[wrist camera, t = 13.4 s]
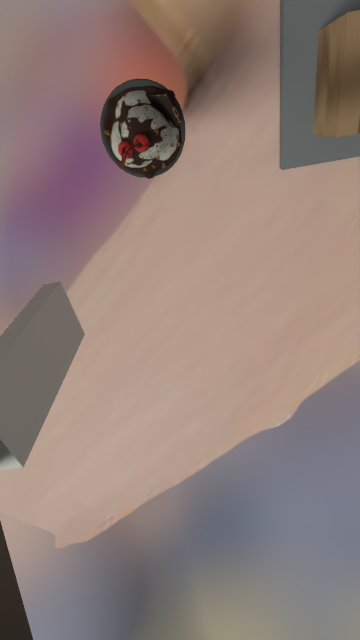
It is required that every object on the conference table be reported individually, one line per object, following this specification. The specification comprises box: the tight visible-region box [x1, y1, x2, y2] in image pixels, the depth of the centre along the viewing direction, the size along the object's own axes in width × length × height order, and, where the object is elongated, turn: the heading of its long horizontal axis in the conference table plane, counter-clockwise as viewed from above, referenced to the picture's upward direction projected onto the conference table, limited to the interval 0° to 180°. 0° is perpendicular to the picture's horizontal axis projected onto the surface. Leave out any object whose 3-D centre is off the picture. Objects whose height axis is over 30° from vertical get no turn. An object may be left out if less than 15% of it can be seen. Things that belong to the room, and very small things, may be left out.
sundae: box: [100, 79, 185, 179], centre depth 27 cm, size 7×7×15 cm
